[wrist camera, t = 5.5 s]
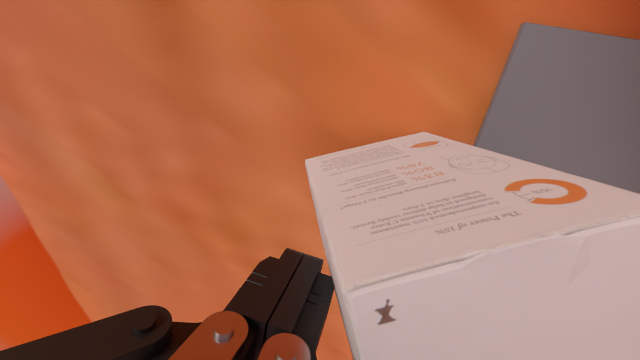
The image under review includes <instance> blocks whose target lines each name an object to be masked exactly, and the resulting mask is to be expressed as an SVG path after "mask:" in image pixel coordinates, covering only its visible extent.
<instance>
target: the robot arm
mask: <svg viewBox="0 0 640 360" xmlns="http://www.w3.org/2000/svg"><path fill="white" fill-rule="evenodd" d="M322 265H323V259H320V258H317V257H314V256H311V255H308V254H304V253H301V252H298V251H295V250H292V249H289V248H286V250H285V251H284V253H283V254H282V256H281V257H280V259H277V258H274V257H271V256H270V257H268V258H266V259H265V260H263V261H261V262H259V264H258V265H257V266H256V268H255V269H254V270H253V272H252V273H251V274H250V276H249V277H248V278H247V281H245V282H244V284H243V285H242V286H241V288H240V289H239V290H238V292H237V293H236V295H235V296H234V297H233V299H232V300H231V301H230V303H229V304H228V305H227V307H226V308H225V309H224V310H223V311H221V312H217V313H214V314H212V315H210V316H209V317H207V318H206V319H205V320H204V321H203V322H200V323H185V322H172V317H171V314H170V312H169V311H168V310H167V309H165V308H163V307H160V306H154V305H151V306H144V307H140V308H136V309H133V310H130V311H127V312H124V313H121V314H117V315H114V316H111V317H108V318H105V319H101V320H98V321H95V322H92V323H89V324H85V325H82V326H79V327H76V328H73V329H69V330H66V331H63V332H60V333H57V334H53V335H51V336H47V337H44V338H41V339H38V340H35V341H31V342H28V343H25V344H21V345H18V346H15V347H12V348H9V349H6V350H2V351H0V360H317V358H316V350H317V346H318V343H319V340H320V337H321V334H322V330H323V327H324V324H325V321H326V317H327V314H328V310H329V306H330V302H331V299H332V295H333V291H334V284H333V279H332V277H331V276H328V275H325V274H322V273H321V269H322Z"/></svg>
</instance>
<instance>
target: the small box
mask: <svg viewBox="0 0 640 360" xmlns="http://www.w3.org/2000/svg"><path fill="white" fill-rule="evenodd" d="M305 166H306V171H307V175H308V180H309V184H310V189H311V193H312V198H313V202H314V207H315V211H316V216H317V220H318V225H319V229H320V233H321V237H322V242H323V246H324V250H325V254H326V258H327V262H328V266H329V270H330V274H331V277H332V279H333V284H334V289H335V293H336V296H337V300H338V304H339V308H340V312H341V315H342V319H343V323H344V327H345V330H346V334H347V338H348V341H349V345H350V349H351V353H352V356H353V360H640V194H638V193H635V192H632V191H628V190H625V189H621V188H618V187H614V186H611V185H607V184H604V183H601V182H597V181H594V180H590V179H587V178H583V177H579V176H576V175H572V174H569V173H565V172H562V171H559V170H555V169H552V168H548V167H545V166H542V165H538V164H535V163H531V162H528V161H524V160H521V159H517V158H514V157H510V156H507V155H503V154H500V153H496V152H493V151H489V150H486V149H482V148H479V147H475V146H472V145H468V144H465V143H461V142H458V141H454V140H451V139H447V138H444V137H440V136H437V135H434V134H430V133H427V132H421V133H416V134H412V135H408V136H403V137H399V138H394V139H390V140H385V141H381V142H376V143H372V144H368V145H364V146H360V147H355V148H351V149H347V150H343V151H338V152H334V153H330V154H326V155H322V156H318V157H314V158H310V159H306V160H305Z"/></svg>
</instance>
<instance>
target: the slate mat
mask: <svg viewBox="0 0 640 360" xmlns="http://www.w3.org/2000/svg"><path fill="white" fill-rule="evenodd" d="M474 146H475V147H479V148H482V149H486V150H489V151H493V152H496V153H500V154H503V155H507V156H510V157H514V158H517V159H521V160H524V161H528V162H531V163H535V164H538V165H542V166H545V167H548V168H552V169H555V170H559V171H562V172H565V173H569V174H572V175H576V176H579V177H583V178H587V179H590V180H594V181H597V182H601V183H604V184H607V185H611V186H614V187H618V188H621V189H625V190H628V191H632V192H635V193H638V194H640V40H637V39H630V38H624V37H617V36H611V35H604V34H598V33H592V32H585V31H579V30H572V29H566V28H559V27H553V26H546V25H540V24H533V23H527V22H525V23H523V24H521V27H520V29H519V32H518V34H517V37H516V39H515V42H514V44H513V47H512V50H511V52H510V55H509V57H508V60H507V62H506V65H505V67H504V70H503V72H502V75H501V77H500V80H499V83H498V85H497V88H496V90H495V93H494V95H493V98H492V100H491V103H490V105H489V108H488V110H487V113H486V116H485V118H484V121H483V123H482V126H481V128H480V131H479V133H478V136H477V138H476V141H475V144H474Z"/></svg>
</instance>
